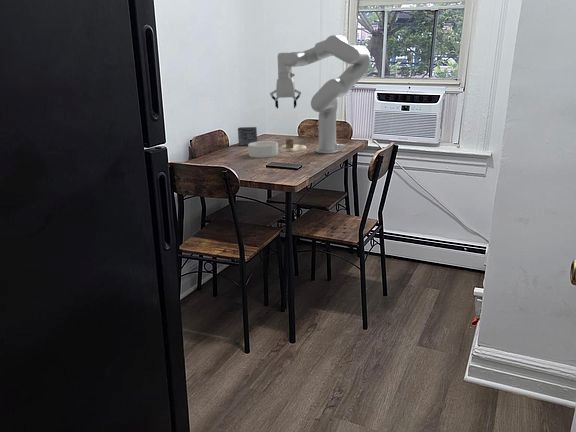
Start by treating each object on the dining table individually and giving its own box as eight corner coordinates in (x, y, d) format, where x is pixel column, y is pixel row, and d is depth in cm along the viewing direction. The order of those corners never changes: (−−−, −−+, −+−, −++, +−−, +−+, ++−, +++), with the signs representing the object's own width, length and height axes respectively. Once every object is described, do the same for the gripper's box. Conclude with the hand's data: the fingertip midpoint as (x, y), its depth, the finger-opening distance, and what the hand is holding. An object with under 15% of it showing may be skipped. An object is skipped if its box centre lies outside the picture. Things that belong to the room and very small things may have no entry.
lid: (304, 145, 302) (304, 135, 300) (307, 151, 284) (307, 141, 282) (272, 146, 301) (272, 136, 299) (273, 153, 283) (273, 142, 281)
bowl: (277, 151, 285) (277, 140, 283) (278, 157, 270) (278, 145, 268) (249, 152, 285) (248, 141, 283) (248, 158, 269) (247, 147, 268)
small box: (257, 144, 310) (256, 126, 307) (256, 146, 304) (255, 128, 301) (240, 144, 311) (239, 126, 308) (238, 146, 305) (237, 128, 302)
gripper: (301, 75, 284) (301, 106, 289) (269, 76, 285) (271, 107, 290) (300, 76, 277) (301, 108, 282) (268, 77, 278) (270, 109, 283)
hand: (286, 108), depth 286 cm, fingers open, 9 cm apart
